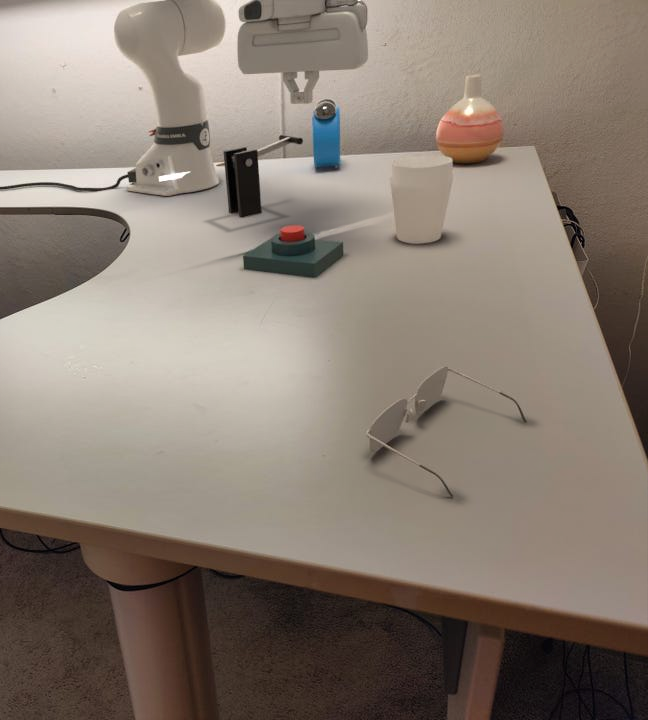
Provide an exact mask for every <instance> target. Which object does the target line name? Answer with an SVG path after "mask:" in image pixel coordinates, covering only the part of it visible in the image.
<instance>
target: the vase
mask: <svg viewBox="0 0 648 720" xmlns="http://www.w3.org/2000/svg"><path fill="white" fill-rule="evenodd" d="M464 81H465V83H464V91H463V97H462V98H461V99H460V100H458V101H457V102H456V103H455V104H453V105H452V106H451V107H450V108H449V109H448V110H447V111H446V112H445V113H444V114H443V116H442V117H441V119H440V121H439V122H438V124H437V129H436V134H435V142H436V146H437V148H438V150H439V151H440V153H441V154H442V156H447V157H450V158H452V159H453V163H454V164H463V165H465V164H466V165H467V164H476V163H481V162H483V161H485V160H486V159H487V158H488V157H489V156H491V155H492V154H493V153H494V152H495V151H496V150H497V149H498V148H499V147H500V145H501V144H502V141H503V138H504V133H505V124H504V120H503V116H502V115H501V113H500V112H499V110H498V109H497V108H496V107H495V106H494V105H493V104H492V103H491V102H489V101H488V100H486V99H485V98H484V97H482V96H481V94H482V93H481V92H482V74H468V75H466V76H465V80H464Z"/></svg>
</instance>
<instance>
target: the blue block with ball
mask: <svg viewBox="0 0 648 720" xmlns="http://www.w3.org/2000/svg"><path fill="white" fill-rule="evenodd" d="M314 107H315V108H314V109H313V110H312V117H311V118H312V119H311V121H312V152H313V165H314V167H315V168H327V167H334V169H335V170H337V167H339V166H340V165H341V110H340V107H339V106H337V103H336V101H335V100H334V99H332V98H328V97H324V98H323V99H322V98H321V99H320V100H318V101H317V102H316V104H315V106H314Z"/></svg>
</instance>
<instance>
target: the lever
mask: <svg viewBox="0 0 648 720" xmlns="http://www.w3.org/2000/svg"><path fill="white" fill-rule="evenodd" d="M303 143H304V139H303V137H300V136H299V137H298V136H292V135H287V134H280V135H279V136H278V140H277V141H275V142H273V143H270V144H268V145H266V146H263V147H261V148H259V149H256V150H257V152H258V158H259V157H261V156H264V155H266V154H269V153H271V152H273V151H275V150H276V151H277V150H278V149H280V148H283V147H286V146H288V145H290V144H295V145H299V146H300V145H303ZM241 152H244V151H241ZM230 157H231V161H232V165H233V169H235V164H234V155H232V156H230Z"/></svg>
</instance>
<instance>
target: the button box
mask: <svg viewBox="0 0 648 720" xmlns="http://www.w3.org/2000/svg"><path fill="white" fill-rule="evenodd" d="M304 234H305V239H304V240H301V241H297V242H283V241H281V236H280V232H279V233H276V234H274V235H273V236H271V237H270V238H269V239H267V240H266V241H264V242H263V243H261V244H259V245H258V246H255V248H253V249H251V250H250V251H248V252H246V253H244V254H243V255H242V260H243V270H248V271H257V272H263V273H264V272H267V273H273V274H282V275H290V276H291V275H292V276H299V277H307V278H316V277H318V276H319V275H320V274H322V273H323V272H324V271H326V270H327V269H328V268H329V267H331V266H332V265H333V264H335V263H336V262H337V261H338V260H340V259H341V258H343V256H344V241H337V240H324V239H316V237H315V234H314V233H312V232H309V231H305V230H304Z"/></svg>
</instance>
